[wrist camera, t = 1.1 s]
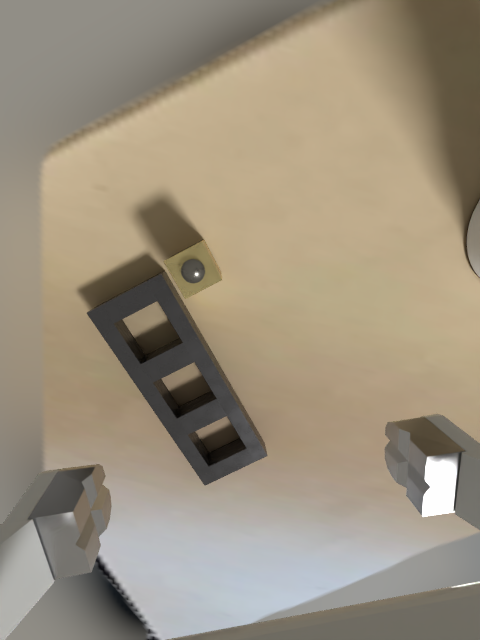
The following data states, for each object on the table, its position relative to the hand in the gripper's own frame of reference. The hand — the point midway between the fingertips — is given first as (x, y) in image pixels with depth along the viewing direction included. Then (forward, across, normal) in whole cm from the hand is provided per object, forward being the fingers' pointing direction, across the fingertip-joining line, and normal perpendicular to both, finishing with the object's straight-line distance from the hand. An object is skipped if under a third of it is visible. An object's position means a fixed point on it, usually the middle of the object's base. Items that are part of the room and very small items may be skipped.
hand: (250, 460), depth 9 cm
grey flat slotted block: (+28, +5, +11) cm, 31 cm away
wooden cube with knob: (+28, +2, -3) cm, 28 cm away
